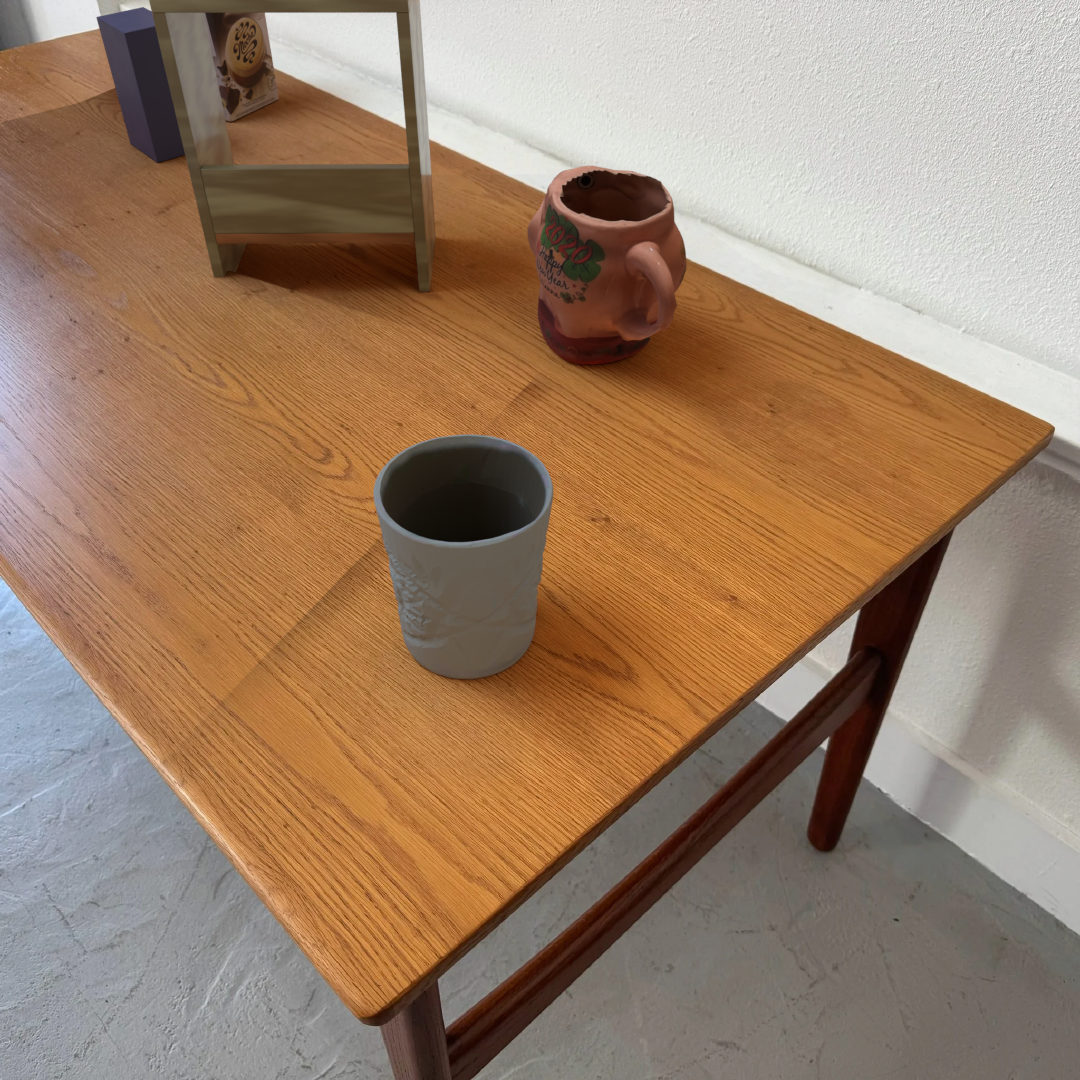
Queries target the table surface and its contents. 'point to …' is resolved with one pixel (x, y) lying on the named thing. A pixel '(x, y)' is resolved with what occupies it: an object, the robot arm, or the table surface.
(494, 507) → the grey cup
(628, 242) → the pink ceramic mug
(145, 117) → the carton
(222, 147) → the shelf unit
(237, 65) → the coffee box
